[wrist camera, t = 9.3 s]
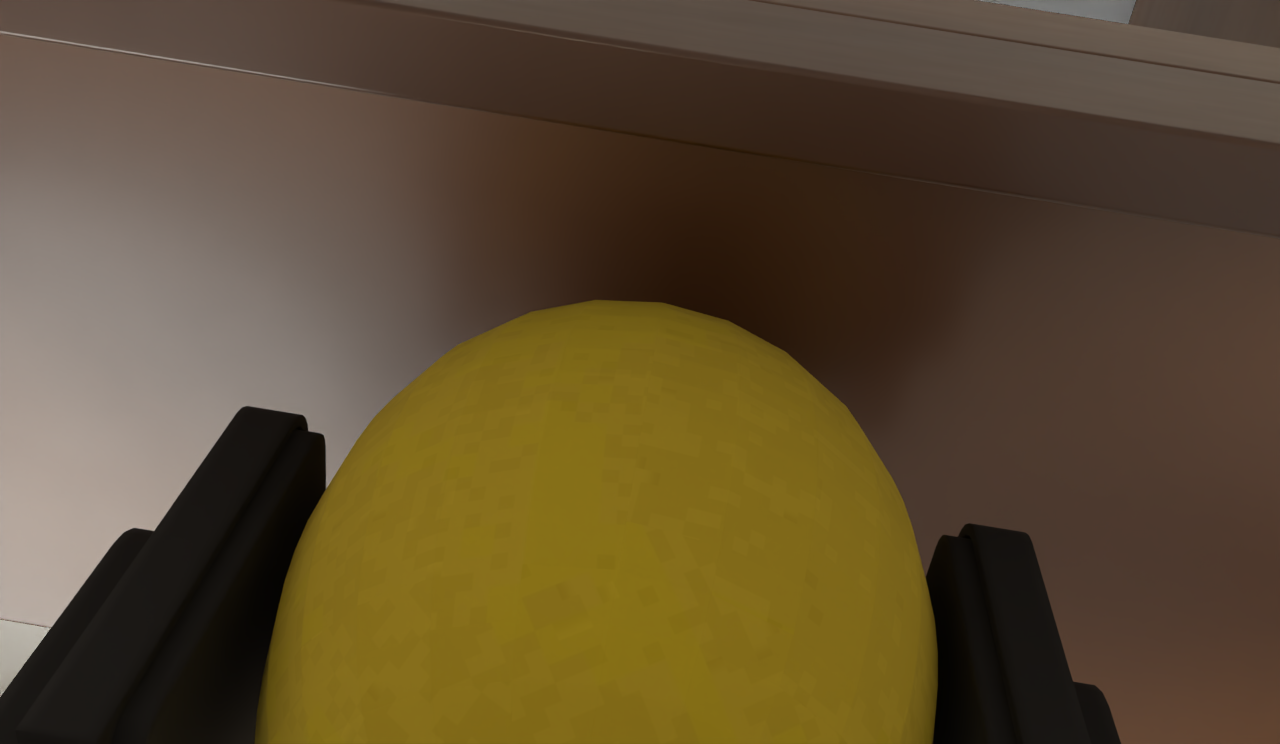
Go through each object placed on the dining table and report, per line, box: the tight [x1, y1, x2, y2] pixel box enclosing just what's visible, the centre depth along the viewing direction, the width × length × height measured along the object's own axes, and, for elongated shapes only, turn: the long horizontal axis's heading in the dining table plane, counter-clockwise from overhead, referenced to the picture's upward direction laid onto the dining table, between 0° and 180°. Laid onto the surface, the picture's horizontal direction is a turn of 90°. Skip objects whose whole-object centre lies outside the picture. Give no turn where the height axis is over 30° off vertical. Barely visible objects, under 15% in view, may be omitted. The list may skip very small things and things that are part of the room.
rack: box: [0, 0, 1280, 744], centre depth 20 cm, size 20×18×13 cm
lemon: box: [254, 300, 938, 744], centre depth 10 cm, size 6×6×8 cm
